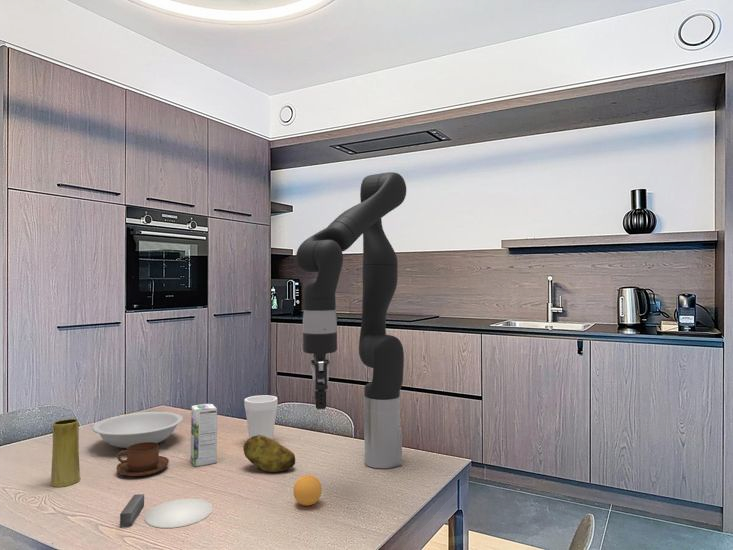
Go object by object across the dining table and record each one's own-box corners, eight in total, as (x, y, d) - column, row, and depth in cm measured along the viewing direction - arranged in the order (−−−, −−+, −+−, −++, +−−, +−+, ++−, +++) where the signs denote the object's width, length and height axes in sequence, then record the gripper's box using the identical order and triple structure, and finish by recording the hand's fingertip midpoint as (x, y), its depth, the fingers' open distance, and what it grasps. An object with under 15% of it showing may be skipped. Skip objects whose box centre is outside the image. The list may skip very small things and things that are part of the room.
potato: (277, 479, 122) (277, 445, 122) (237, 469, 129) (237, 437, 129) (299, 468, 129) (299, 436, 129) (260, 459, 136) (260, 429, 136)
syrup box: (189, 460, 135) (189, 405, 136) (212, 456, 138) (212, 402, 138) (194, 467, 130) (194, 410, 131) (217, 463, 133) (217, 407, 133)
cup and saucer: (115, 484, 120) (115, 457, 120) (117, 467, 131) (117, 442, 131) (169, 476, 125) (169, 450, 125) (167, 460, 136) (167, 437, 136)
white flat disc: (216, 497, 112) (216, 496, 112) (207, 525, 99) (207, 524, 99) (154, 501, 110) (154, 500, 110) (136, 530, 97) (136, 529, 97)
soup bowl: (200, 440, 153) (200, 418, 153) (124, 465, 132) (125, 439, 133) (150, 428, 166) (150, 407, 166) (74, 449, 145) (74, 425, 145)
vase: (86, 479, 123) (86, 419, 123) (63, 488, 117) (64, 426, 117) (67, 476, 125) (67, 417, 125) (44, 485, 119) (44, 423, 119)
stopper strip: (144, 506, 108) (144, 494, 108) (131, 526, 99) (131, 513, 99) (134, 506, 108) (134, 494, 108) (120, 527, 99) (120, 513, 99)
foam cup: (238, 443, 150) (238, 398, 150) (266, 436, 156) (266, 393, 156) (255, 451, 143) (255, 404, 143) (283, 444, 149) (283, 399, 149)
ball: (321, 497, 112) (320, 469, 112) (322, 509, 106) (322, 480, 106) (293, 499, 111) (293, 471, 111) (293, 511, 105) (293, 482, 105)
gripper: (339, 333, 107) (339, 411, 107) (334, 327, 121) (335, 396, 121) (302, 334, 106) (303, 412, 106) (302, 327, 120) (303, 397, 120)
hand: (320, 403), depth 113 cm, fingers open, 8 cm apart
